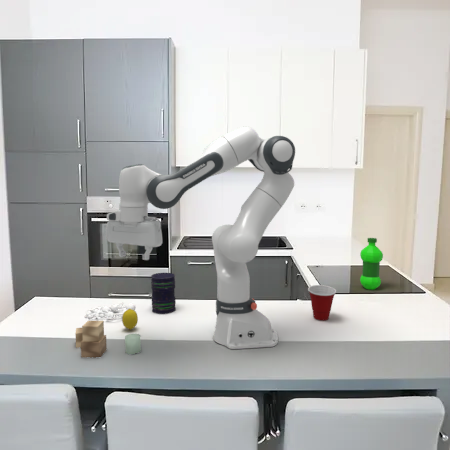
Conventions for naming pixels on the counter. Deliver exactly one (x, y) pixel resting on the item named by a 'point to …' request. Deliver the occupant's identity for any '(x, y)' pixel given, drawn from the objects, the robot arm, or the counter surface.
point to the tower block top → (93, 331)
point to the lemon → (130, 319)
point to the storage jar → (163, 293)
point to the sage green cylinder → (132, 343)
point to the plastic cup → (321, 301)
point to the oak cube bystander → (78, 337)
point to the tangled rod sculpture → (108, 311)
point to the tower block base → (93, 348)
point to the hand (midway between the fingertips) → (134, 258)
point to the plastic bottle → (371, 265)
